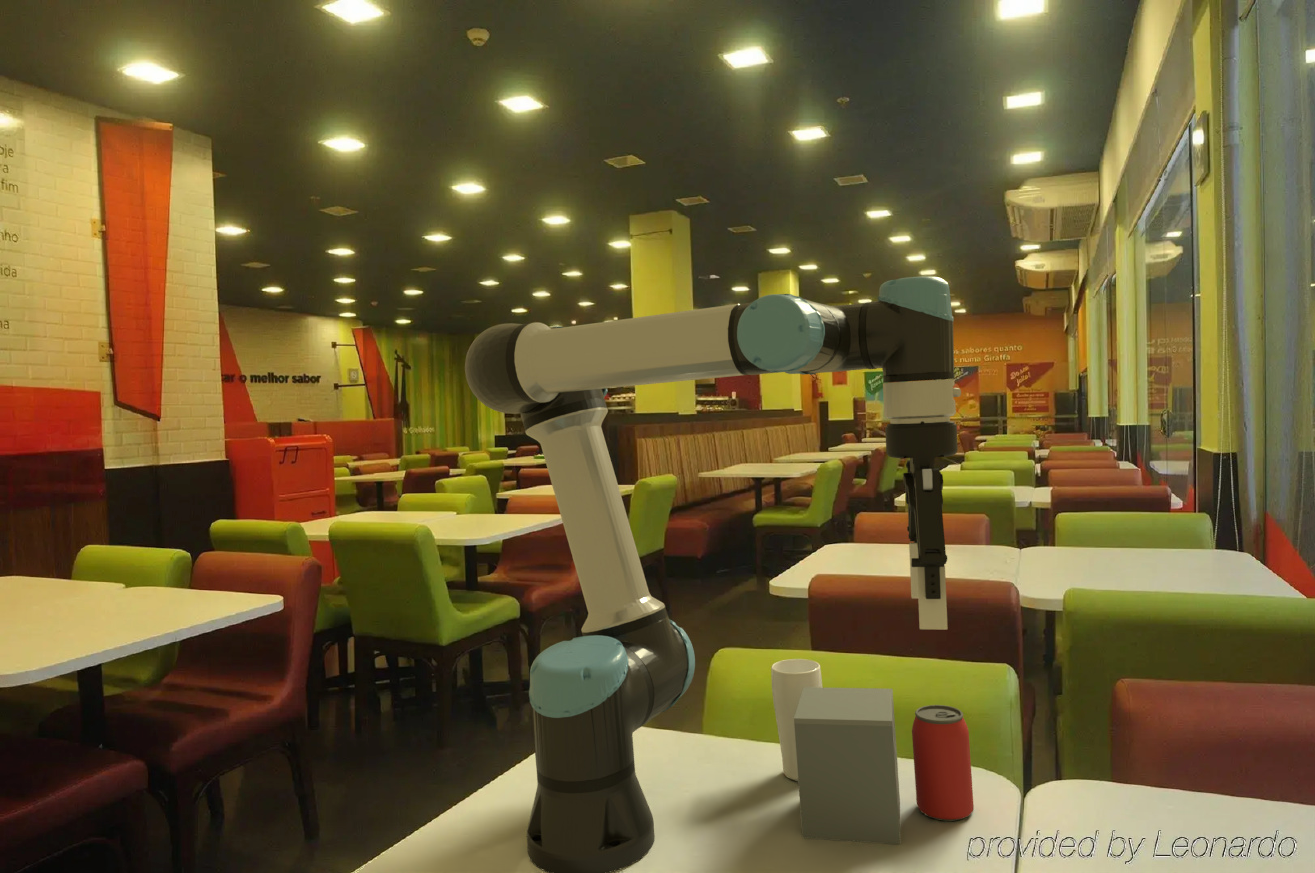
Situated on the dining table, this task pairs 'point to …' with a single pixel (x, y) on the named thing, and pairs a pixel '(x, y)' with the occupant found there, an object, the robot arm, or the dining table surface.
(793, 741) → the drinking glass
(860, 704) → the tall grey box
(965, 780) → the beer can
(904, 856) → the dining table surface
